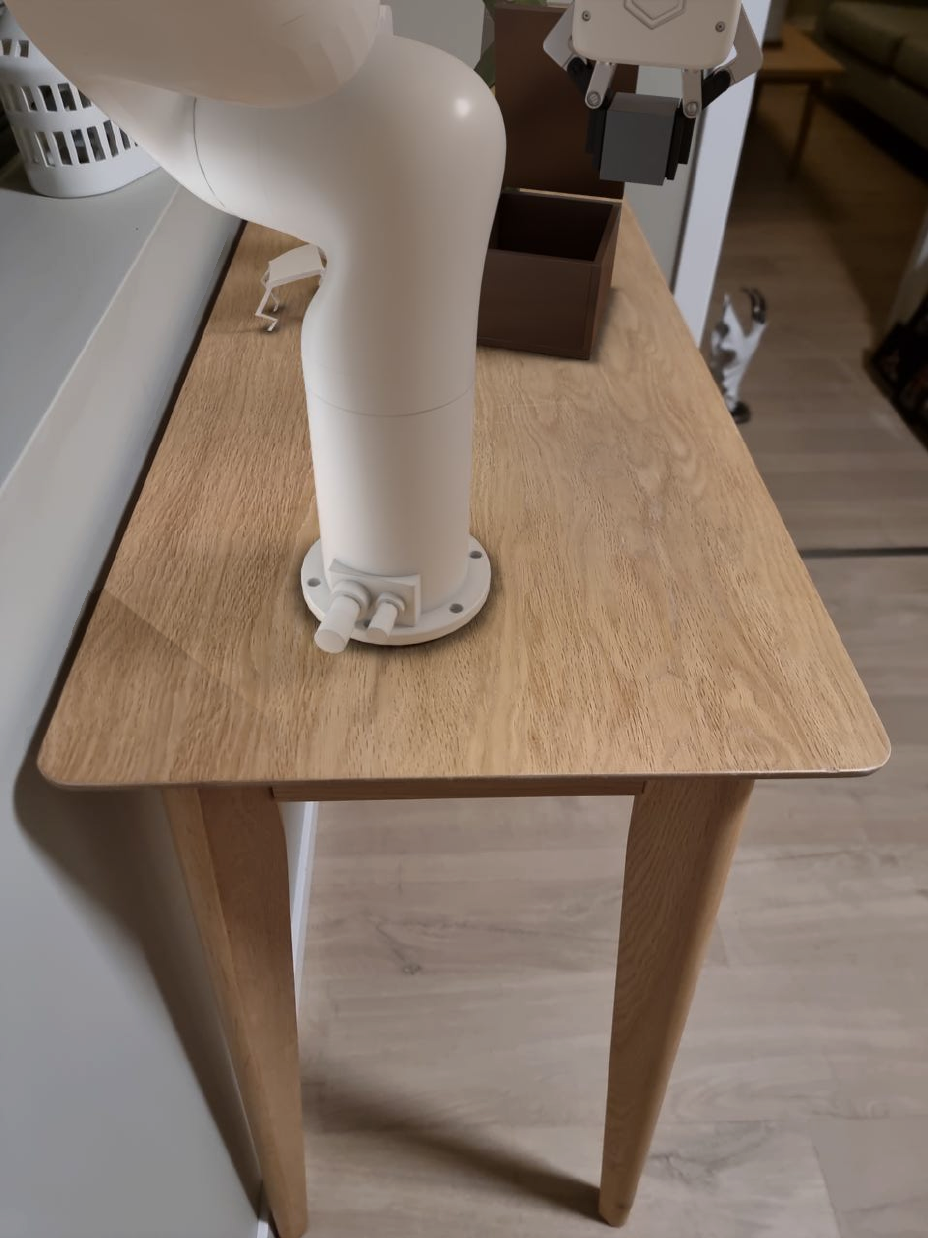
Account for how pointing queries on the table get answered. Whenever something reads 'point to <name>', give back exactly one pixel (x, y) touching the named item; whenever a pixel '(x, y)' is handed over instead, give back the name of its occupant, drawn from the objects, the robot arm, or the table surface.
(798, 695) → the table surface
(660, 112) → the block
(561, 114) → the lid
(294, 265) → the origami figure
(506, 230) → the chest
